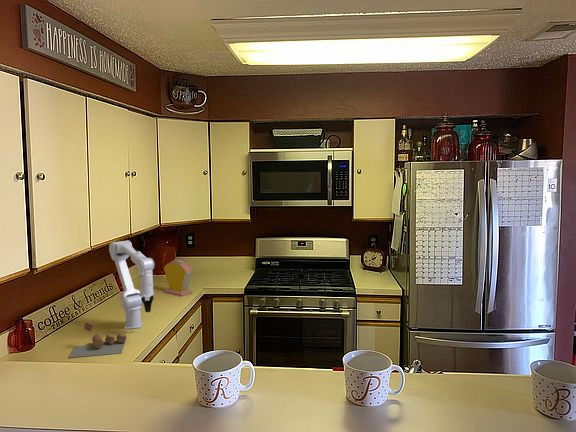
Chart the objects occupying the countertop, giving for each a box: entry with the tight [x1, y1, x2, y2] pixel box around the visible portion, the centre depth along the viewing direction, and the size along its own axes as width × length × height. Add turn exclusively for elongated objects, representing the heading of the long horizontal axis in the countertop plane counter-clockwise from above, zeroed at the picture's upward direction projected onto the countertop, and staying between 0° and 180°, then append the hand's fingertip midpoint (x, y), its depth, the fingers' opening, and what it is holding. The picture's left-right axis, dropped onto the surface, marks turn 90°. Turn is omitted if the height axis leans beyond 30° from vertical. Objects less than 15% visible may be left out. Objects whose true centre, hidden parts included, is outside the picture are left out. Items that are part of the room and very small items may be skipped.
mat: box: [68, 342, 126, 359], centre depth 204 cm, size 13×21×1 cm, turn 103°
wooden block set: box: [83, 321, 127, 348], centre depth 209 cm, size 18×9×10 cm
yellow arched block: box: [163, 259, 193, 297], centre depth 300 cm, size 22×9×22 cm, turn 53°
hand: (148, 311), depth 225 cm, fingers closed
